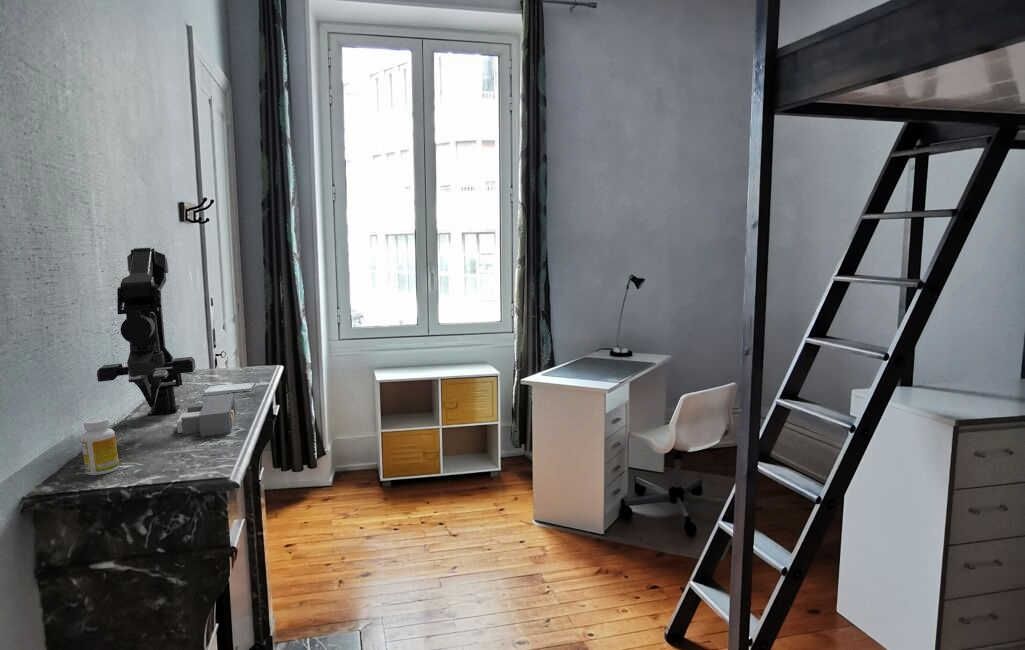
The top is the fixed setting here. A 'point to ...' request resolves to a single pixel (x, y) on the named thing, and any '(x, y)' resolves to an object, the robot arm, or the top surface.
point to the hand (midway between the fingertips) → (152, 406)
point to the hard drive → (229, 388)
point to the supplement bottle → (99, 447)
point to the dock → (211, 416)
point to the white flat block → (179, 423)
